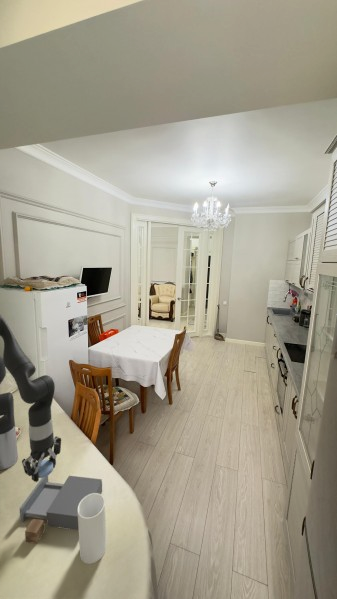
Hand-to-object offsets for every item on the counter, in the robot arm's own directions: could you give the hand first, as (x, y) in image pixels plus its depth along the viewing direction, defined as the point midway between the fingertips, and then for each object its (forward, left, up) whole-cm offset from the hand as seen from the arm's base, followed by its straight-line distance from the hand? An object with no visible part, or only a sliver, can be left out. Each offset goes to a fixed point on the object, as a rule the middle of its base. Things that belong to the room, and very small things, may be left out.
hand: (44, 473), depth 89 cm
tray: (0, +2, -15) cm, 15 cm away
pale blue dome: (0, 0, +1) cm, 1 cm away
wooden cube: (+2, -9, -15) cm, 18 cm away
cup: (+23, -10, -15) cm, 29 cm away
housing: (+11, +2, -15) cm, 19 cm away
